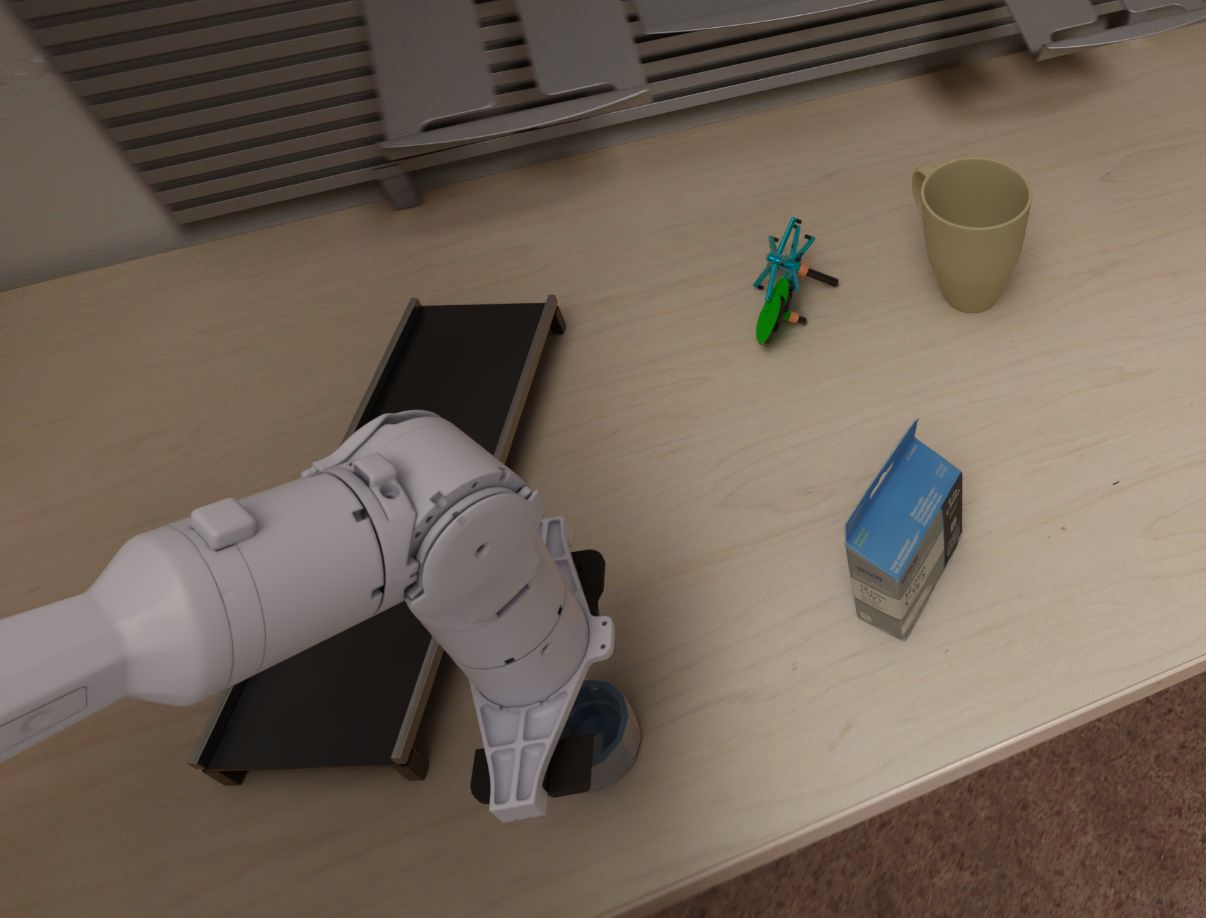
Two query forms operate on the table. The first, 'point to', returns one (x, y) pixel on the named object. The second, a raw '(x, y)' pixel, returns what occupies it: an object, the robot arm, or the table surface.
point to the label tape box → (903, 535)
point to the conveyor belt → (395, 636)
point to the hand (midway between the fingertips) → (577, 713)
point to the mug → (972, 226)
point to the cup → (605, 730)
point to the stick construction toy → (784, 282)
